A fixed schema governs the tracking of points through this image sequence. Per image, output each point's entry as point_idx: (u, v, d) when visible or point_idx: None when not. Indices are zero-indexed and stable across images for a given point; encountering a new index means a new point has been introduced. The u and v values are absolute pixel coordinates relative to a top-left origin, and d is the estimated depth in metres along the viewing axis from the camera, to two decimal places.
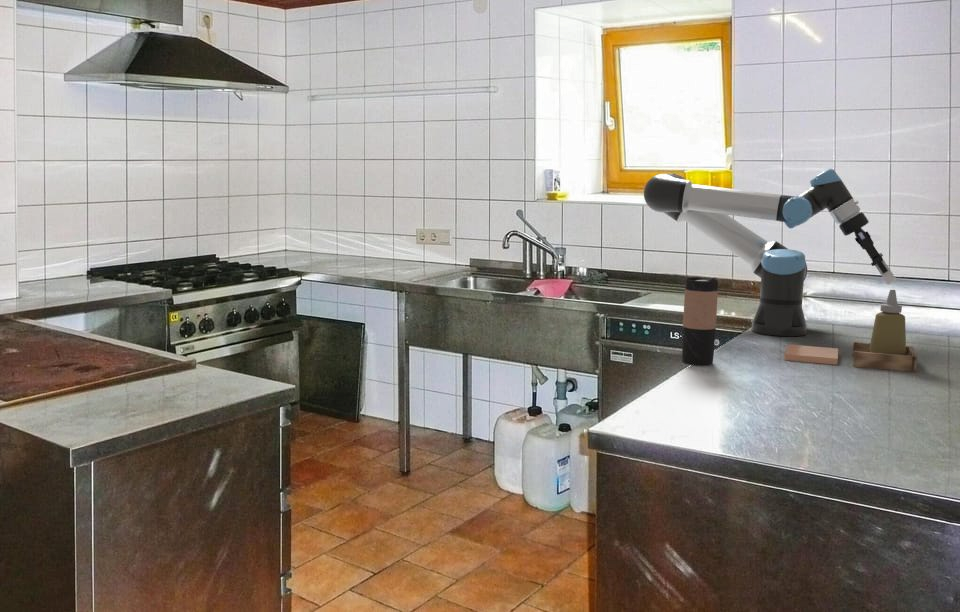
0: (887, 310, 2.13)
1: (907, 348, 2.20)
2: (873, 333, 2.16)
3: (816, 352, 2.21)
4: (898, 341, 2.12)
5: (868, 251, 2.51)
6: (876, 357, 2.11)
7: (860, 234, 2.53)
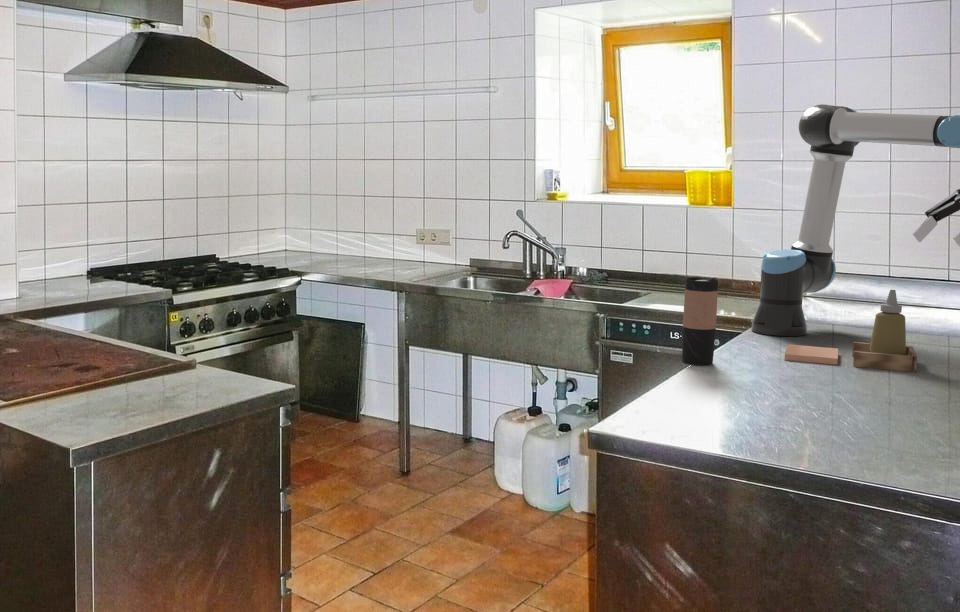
0: (887, 310, 2.13)
1: (907, 348, 2.20)
2: (873, 333, 2.16)
3: (816, 352, 2.21)
4: (898, 341, 2.12)
5: None
6: (876, 357, 2.11)
7: None
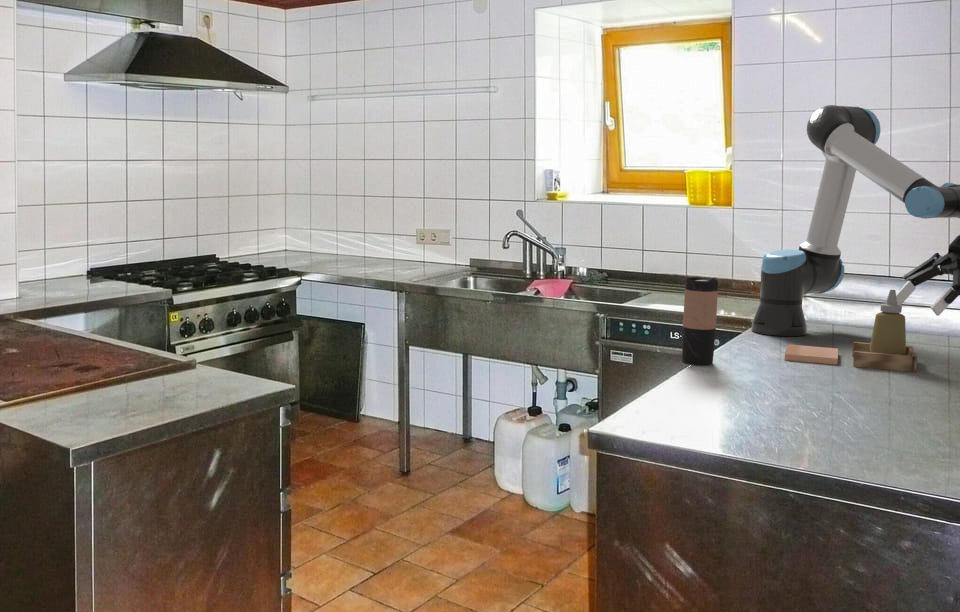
0: (887, 310, 2.13)
1: (907, 348, 2.20)
2: (873, 333, 2.16)
3: (816, 352, 2.21)
4: (898, 341, 2.12)
5: None
6: (876, 357, 2.11)
7: None
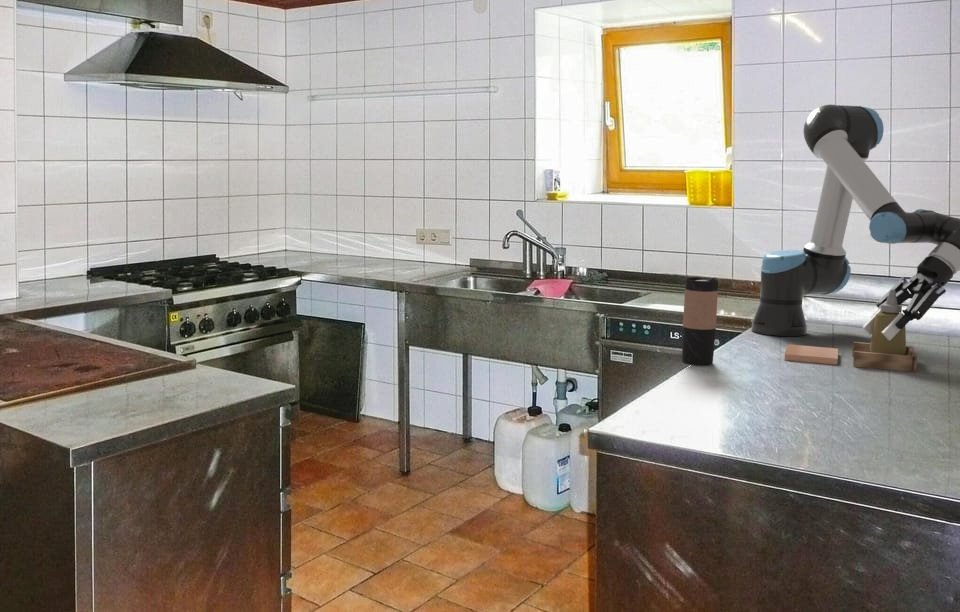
0: (887, 310, 2.13)
1: (907, 348, 2.20)
2: (873, 333, 2.16)
3: (816, 352, 2.21)
4: (898, 341, 2.12)
5: (924, 303, 2.09)
6: (876, 357, 2.11)
7: (941, 288, 2.09)
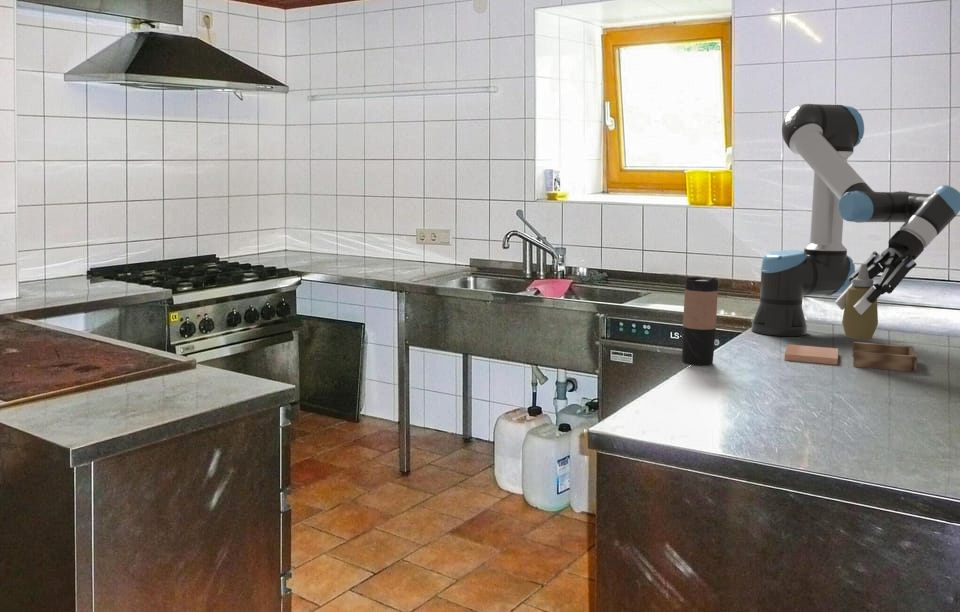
0: (859, 284, 2.14)
1: (907, 348, 2.20)
2: (845, 307, 2.17)
3: (816, 352, 2.21)
4: (869, 315, 2.13)
5: (895, 277, 2.10)
6: (876, 357, 2.11)
7: (912, 262, 2.10)
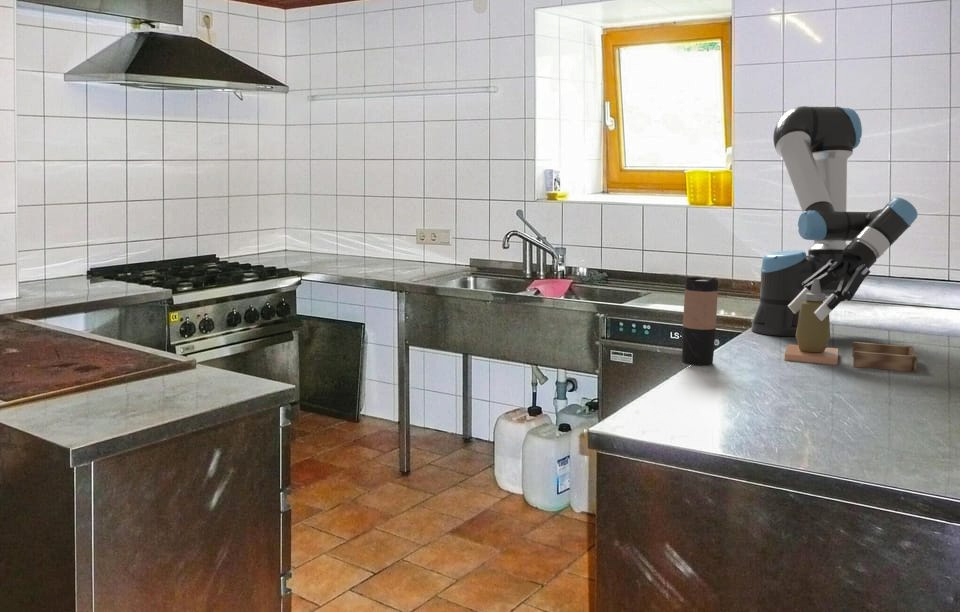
0: (811, 299, 2.19)
1: (907, 348, 2.20)
2: (798, 321, 2.22)
3: None
4: (821, 329, 2.18)
5: (853, 283, 2.14)
6: (876, 357, 2.11)
7: (866, 269, 2.15)
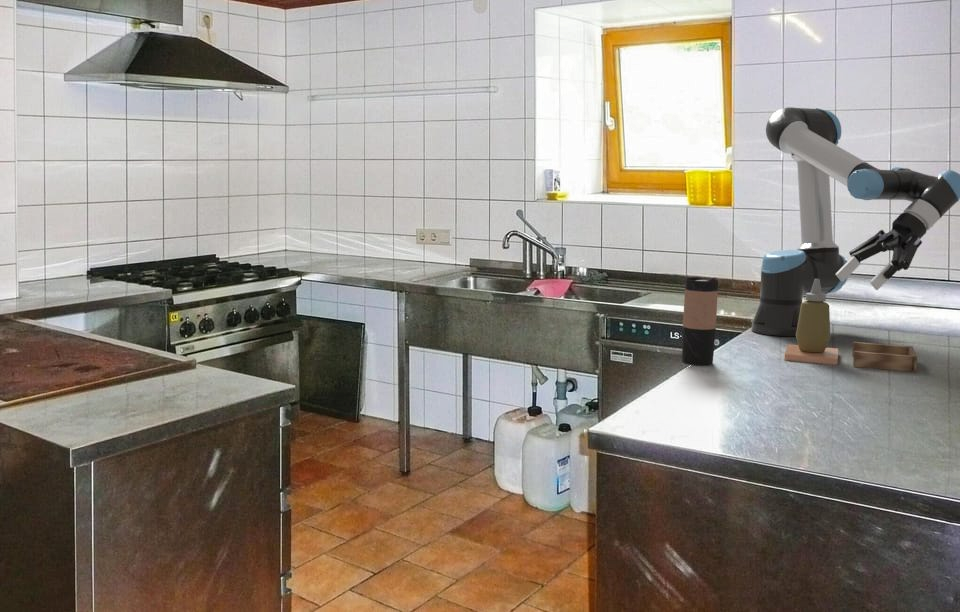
0: (811, 299, 2.19)
1: (907, 348, 2.20)
2: (799, 321, 2.22)
3: None
4: (821, 329, 2.18)
5: (908, 253, 2.14)
6: (876, 357, 2.11)
7: (918, 239, 2.17)
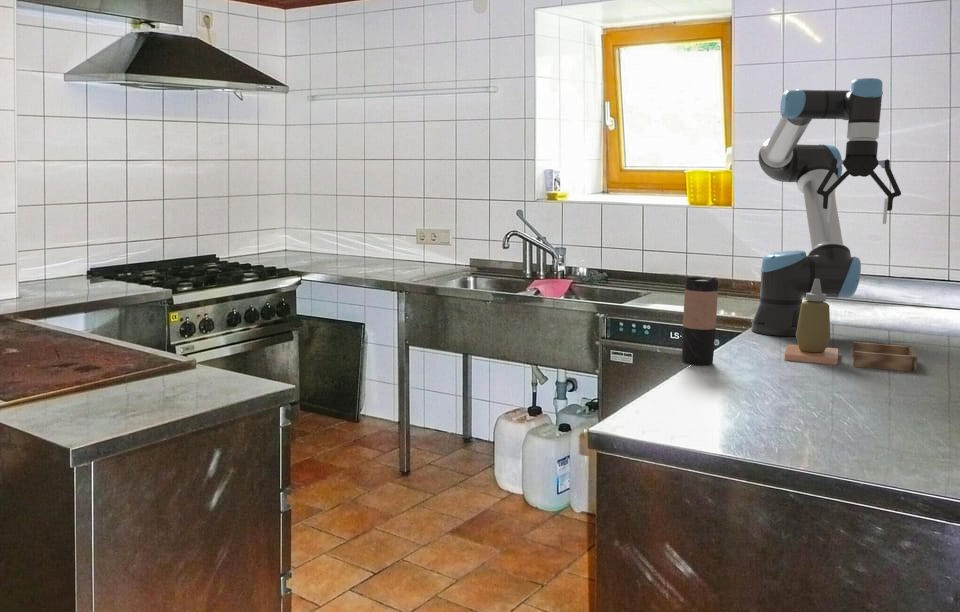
0: (811, 299, 2.19)
1: (907, 348, 2.20)
2: (799, 321, 2.22)
3: None
4: (821, 329, 2.18)
5: None
6: (876, 357, 2.11)
7: None
